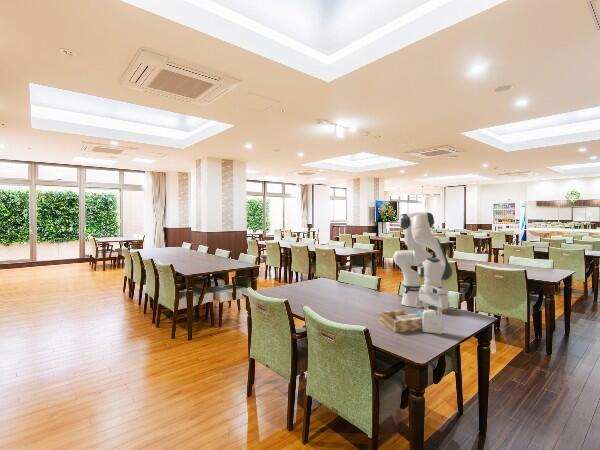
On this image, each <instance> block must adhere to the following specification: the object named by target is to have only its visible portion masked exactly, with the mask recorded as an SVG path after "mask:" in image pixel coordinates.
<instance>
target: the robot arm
mask: <svg viewBox="0 0 600 450" xmlns="http://www.w3.org/2000/svg"><path fill="white" fill-rule="evenodd" d="M434 224H435V217H434V215H433V214H432V213H431V212H427V211H426V212H419V211H416V212H410V213H406V212H405V213H403V214H400V215H399V218H398V225H399V227H400V228H401V229H402V230H404V244H405V246H406V247H408V248H409V250H407V249H405V250H404V249H401V250H395V252H394V253H393V256H392V257H393V258H392V260H393V262H394V263H395V264H396V265H397V266H398V267H399V268H400V270H401V272H402V275H403V283H402V292H403V293H402V299H401V305H403V306H406V307H413V308H418V309H420V308H424V310H430V307H432V306H433V307H436V310H437V309H438V311H437V312H436V315H438V316H440V315H441V311H442V310H443V309H447V308H448V309H449V307H448V305H449V303H450V300H449V295H448V294H449V290H448V289H447V288H446V287H445V286H444V285H442V284H443V282H442V280H443V281H447V280H449V279H450V278H451V277H452V275H453V269H452V266H451V264H450V262H449V261H448V258H447V255H446V253H445V251H444V249H443V246H442V244H441V241H440V240H439V239H438V237H436V236H435V235H434V234H433V233H432V227H433V226H434ZM425 248H427V249H431V250H432V251H433V252H434V254H435V256H436V257H432V254H431V253H430V252H429V251H427V250H426V249H425ZM411 249H412V250H411ZM412 267H417V270H414V269H413V268H412ZM421 279H424V281H423V284H421Z"/></svg>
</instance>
